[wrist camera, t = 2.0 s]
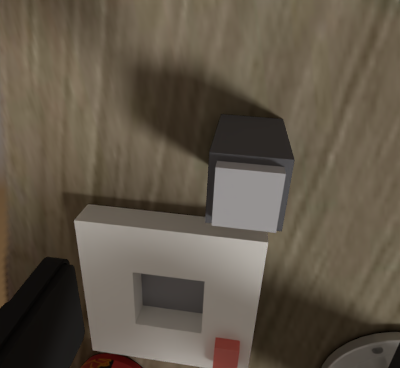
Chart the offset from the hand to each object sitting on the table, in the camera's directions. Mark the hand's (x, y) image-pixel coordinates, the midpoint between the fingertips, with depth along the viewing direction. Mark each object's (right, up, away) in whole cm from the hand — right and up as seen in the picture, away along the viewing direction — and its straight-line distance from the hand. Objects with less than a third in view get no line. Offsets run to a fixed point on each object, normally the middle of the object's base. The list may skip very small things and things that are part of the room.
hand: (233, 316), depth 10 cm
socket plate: (-3, -5, +20) cm, 21 cm away
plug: (+2, +6, +14) cm, 15 cm away
